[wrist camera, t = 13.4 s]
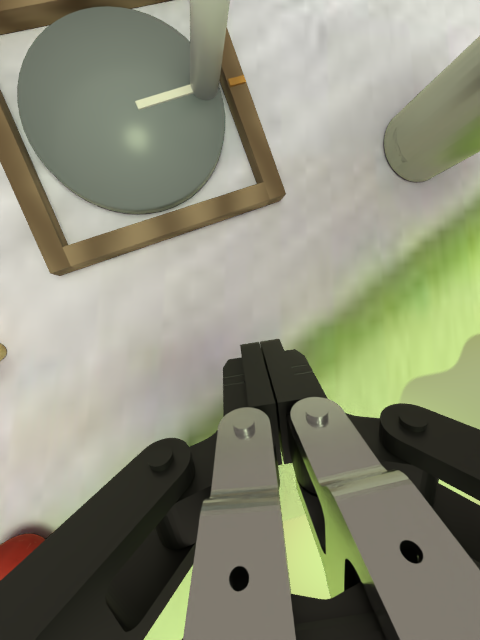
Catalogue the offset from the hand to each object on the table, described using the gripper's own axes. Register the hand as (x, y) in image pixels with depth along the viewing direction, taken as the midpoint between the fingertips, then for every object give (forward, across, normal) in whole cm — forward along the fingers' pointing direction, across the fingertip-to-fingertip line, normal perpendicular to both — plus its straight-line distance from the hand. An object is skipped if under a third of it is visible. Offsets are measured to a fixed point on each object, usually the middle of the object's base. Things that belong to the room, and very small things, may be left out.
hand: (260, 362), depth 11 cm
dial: (+28, +9, -15) cm, 33 cm away
